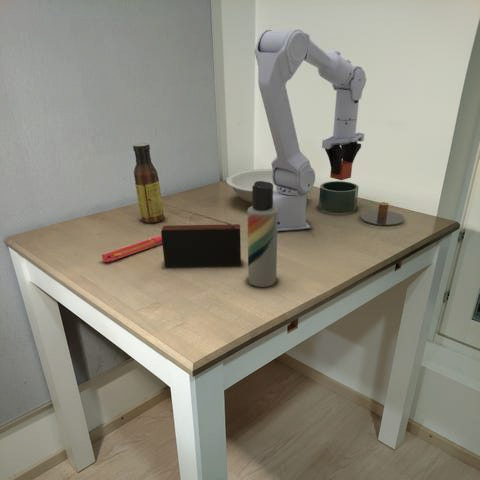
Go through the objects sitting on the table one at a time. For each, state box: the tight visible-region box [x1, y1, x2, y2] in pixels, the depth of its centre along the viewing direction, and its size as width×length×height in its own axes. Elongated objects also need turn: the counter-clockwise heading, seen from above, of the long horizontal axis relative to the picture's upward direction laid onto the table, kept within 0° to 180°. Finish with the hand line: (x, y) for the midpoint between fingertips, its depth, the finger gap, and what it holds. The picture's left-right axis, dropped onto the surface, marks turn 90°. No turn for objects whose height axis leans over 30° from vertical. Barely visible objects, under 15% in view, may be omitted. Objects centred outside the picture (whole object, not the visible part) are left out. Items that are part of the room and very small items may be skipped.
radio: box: [148, 199, 242, 268], centre depth 100 cm, size 19×3×15 cm, turn 90°
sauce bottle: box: [132, 142, 165, 224], centre depth 123 cm, size 7×6×20 cm
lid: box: [359, 201, 405, 227], centre depth 123 cm, size 11×11×5 cm
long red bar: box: [101, 233, 162, 263], centre depth 112 cm, size 24×2×5 cm
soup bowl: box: [225, 168, 278, 204], centre depth 139 cm, size 24×24×7 cm
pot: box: [318, 180, 360, 214], centre depth 132 cm, size 10×10×6 cm
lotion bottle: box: [247, 181, 278, 288], centre depth 91 cm, size 6×6×20 cm
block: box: [329, 161, 353, 181], centre depth 128 cm, size 4×4×4 cm
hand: (340, 172), depth 128 cm, fingers closed on block, 4 cm apart
